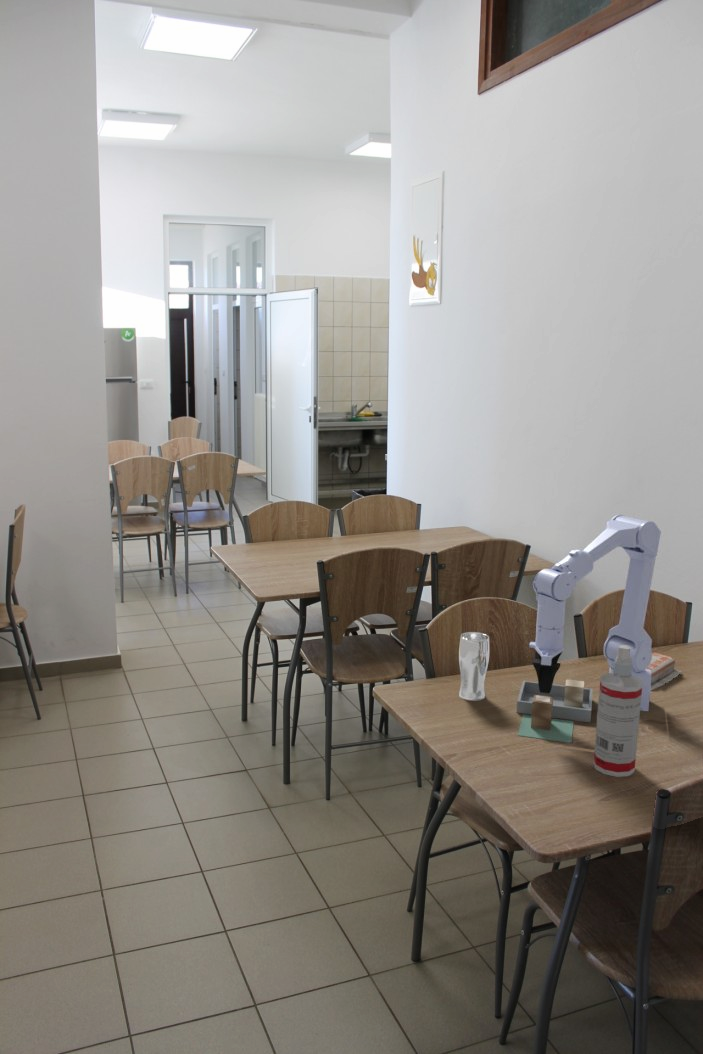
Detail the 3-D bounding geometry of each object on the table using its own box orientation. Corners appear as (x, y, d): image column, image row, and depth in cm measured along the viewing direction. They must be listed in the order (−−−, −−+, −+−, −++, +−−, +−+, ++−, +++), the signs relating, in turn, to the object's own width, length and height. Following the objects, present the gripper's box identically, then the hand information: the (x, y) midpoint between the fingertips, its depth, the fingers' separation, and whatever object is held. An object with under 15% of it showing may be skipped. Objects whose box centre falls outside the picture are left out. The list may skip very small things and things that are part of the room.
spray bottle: (622, 780, 169) (633, 656, 164) (586, 767, 174) (596, 646, 169) (640, 767, 175) (652, 646, 170) (605, 754, 180) (615, 637, 175)
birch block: (582, 706, 203) (584, 681, 201) (581, 712, 199) (583, 687, 198) (564, 703, 204) (566, 679, 202) (563, 710, 200) (565, 685, 199)
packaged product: (646, 648, 231) (683, 657, 224) (644, 665, 232) (681, 676, 225) (613, 665, 218) (652, 675, 212) (612, 683, 219) (650, 694, 213)
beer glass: (491, 701, 205) (495, 640, 202) (464, 704, 203) (467, 642, 200) (479, 690, 212) (482, 630, 209) (452, 693, 210) (455, 632, 207)
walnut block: (551, 723, 193) (553, 696, 192) (549, 730, 189) (551, 703, 188) (532, 720, 194) (534, 694, 193) (530, 727, 190) (532, 701, 189)
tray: (591, 702, 206) (592, 689, 206) (590, 724, 194) (591, 710, 193) (522, 693, 211) (522, 680, 210) (516, 714, 198) (517, 701, 198)
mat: (573, 723, 194) (573, 721, 194) (571, 745, 184) (571, 742, 184) (522, 717, 197) (522, 714, 197) (517, 737, 187) (517, 735, 187)
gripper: (533, 613, 196) (530, 671, 199) (528, 633, 182) (524, 695, 185) (566, 617, 194) (562, 675, 197) (563, 637, 180) (558, 700, 183)
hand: (546, 685), depth 191 cm, fingers open, 7 cm apart
